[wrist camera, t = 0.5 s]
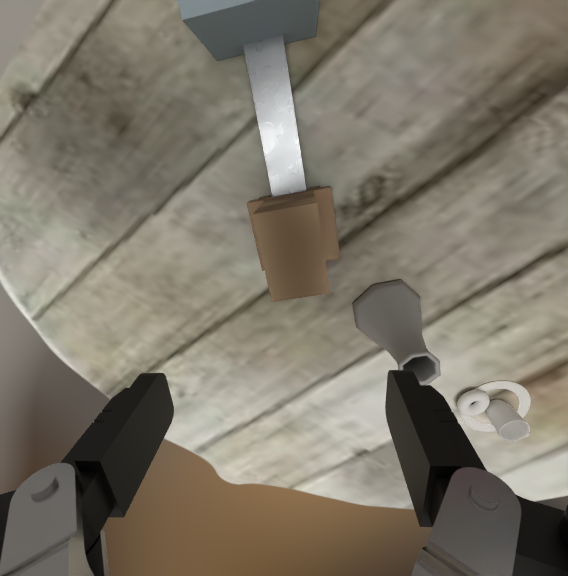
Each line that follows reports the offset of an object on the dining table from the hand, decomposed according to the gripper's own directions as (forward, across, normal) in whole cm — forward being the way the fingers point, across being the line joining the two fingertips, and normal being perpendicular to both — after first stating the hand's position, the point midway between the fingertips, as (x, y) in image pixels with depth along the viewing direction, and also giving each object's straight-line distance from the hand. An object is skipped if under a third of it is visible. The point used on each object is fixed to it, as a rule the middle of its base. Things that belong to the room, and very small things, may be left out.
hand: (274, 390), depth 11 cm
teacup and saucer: (+22, -23, +18) cm, 37 cm away
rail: (+21, 0, -7) cm, 22 cm away
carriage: (+21, 0, -2) cm, 21 cm away
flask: (+22, -10, +8) cm, 25 cm away
